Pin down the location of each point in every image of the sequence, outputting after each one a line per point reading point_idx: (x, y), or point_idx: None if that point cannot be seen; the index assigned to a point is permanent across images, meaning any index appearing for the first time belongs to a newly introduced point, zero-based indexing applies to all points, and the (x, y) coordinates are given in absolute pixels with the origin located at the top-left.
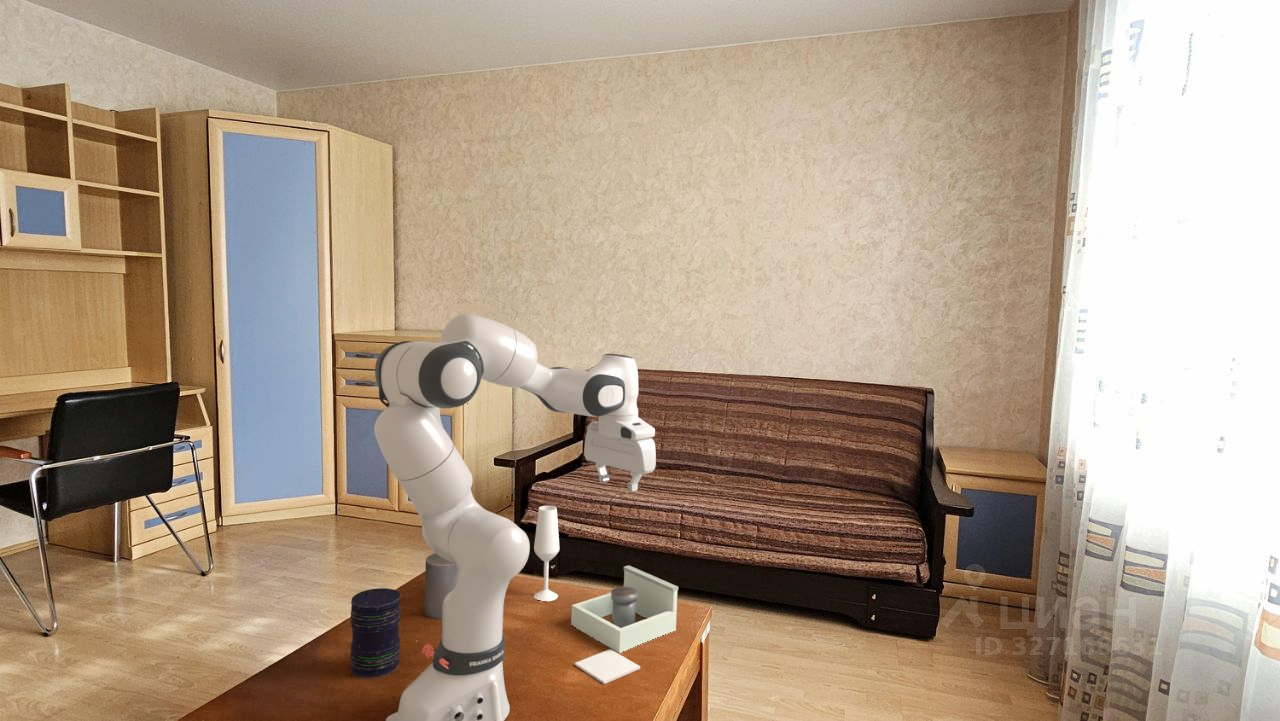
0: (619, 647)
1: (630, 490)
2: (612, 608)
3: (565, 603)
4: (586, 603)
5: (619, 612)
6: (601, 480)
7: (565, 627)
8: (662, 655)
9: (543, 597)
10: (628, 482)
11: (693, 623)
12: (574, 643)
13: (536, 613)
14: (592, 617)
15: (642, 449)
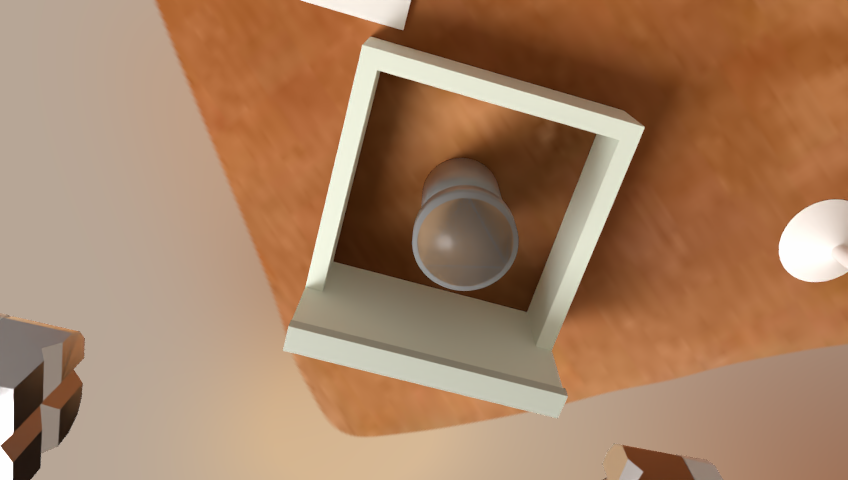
0: (369, 38)
1: (30, 323)
2: (496, 194)
3: (730, 236)
4: (604, 175)
5: (456, 179)
6: (671, 464)
7: (632, 85)
8: (253, 108)
9: (823, 218)
10: (12, 405)
11: None
12: (538, 2)
13: (785, 114)
14: (520, 90)
15: None
